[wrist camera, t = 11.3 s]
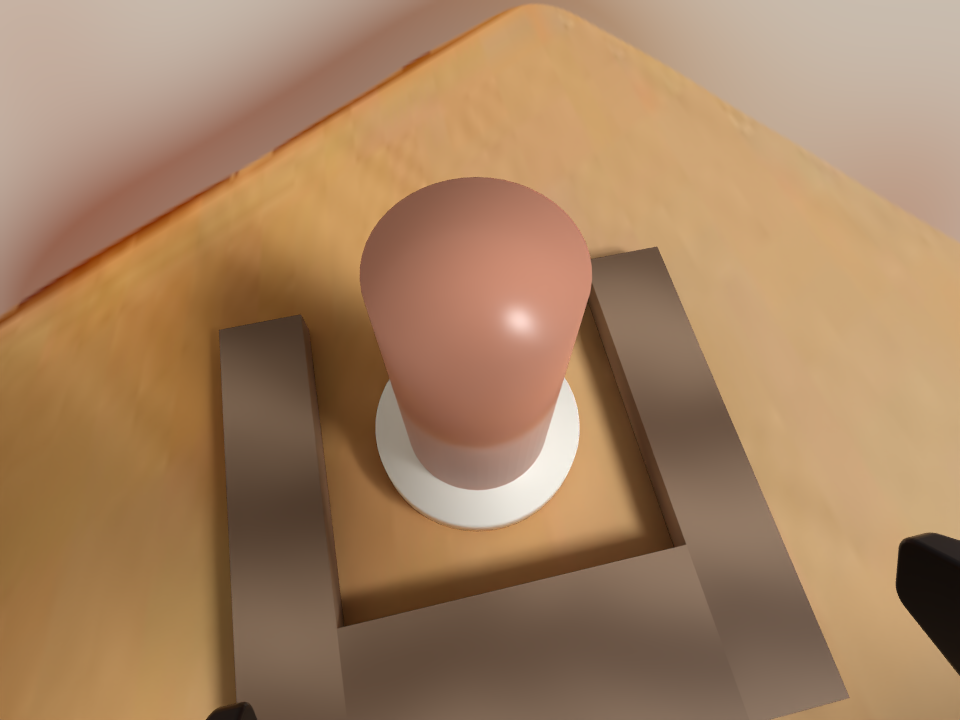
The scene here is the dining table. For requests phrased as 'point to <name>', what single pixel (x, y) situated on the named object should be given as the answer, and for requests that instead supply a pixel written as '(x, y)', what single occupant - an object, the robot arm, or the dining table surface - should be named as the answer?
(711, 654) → the notched board
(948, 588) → the robot arm
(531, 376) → the knob
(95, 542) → the dining table surface
